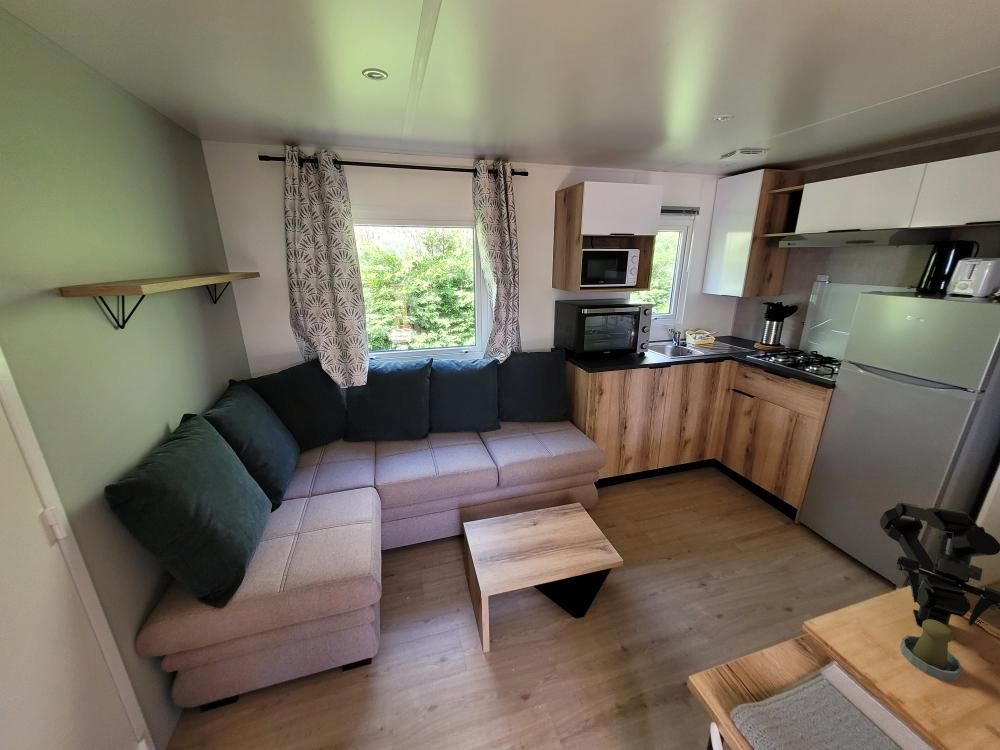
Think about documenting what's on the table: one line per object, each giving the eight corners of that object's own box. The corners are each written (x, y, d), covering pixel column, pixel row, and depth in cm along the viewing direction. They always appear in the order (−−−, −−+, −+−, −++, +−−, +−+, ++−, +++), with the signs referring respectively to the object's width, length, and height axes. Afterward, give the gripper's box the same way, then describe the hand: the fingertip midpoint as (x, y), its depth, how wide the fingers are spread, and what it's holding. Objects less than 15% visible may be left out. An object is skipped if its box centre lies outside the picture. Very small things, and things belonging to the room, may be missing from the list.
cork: (953, 669, 95) (965, 634, 92) (932, 672, 94) (943, 637, 92) (925, 646, 100) (935, 613, 98) (905, 649, 100) (914, 616, 97)
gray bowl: (897, 636, 104) (899, 629, 104) (952, 657, 98) (954, 649, 97) (904, 664, 97) (906, 656, 96) (963, 689, 90) (966, 681, 90)
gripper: (905, 530, 102) (891, 584, 98) (1020, 568, 88) (1009, 633, 84) (902, 542, 109) (889, 593, 104) (1009, 579, 94) (998, 640, 90)
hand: (941, 613), depth 96 cm, fingers open, 9 cm apart
